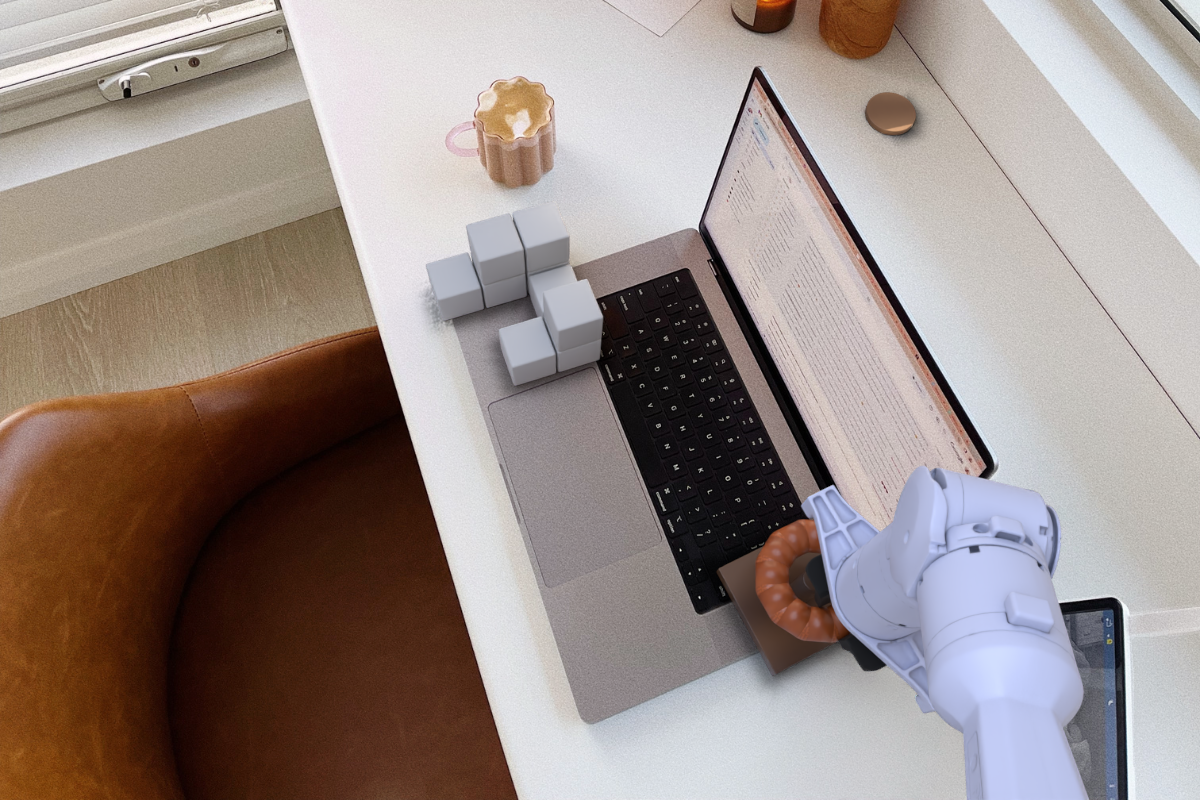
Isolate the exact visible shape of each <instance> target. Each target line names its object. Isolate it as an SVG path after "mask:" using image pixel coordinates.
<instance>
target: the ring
mask: <svg viewBox="0 0 1200 800" xmlns="http://www.w3.org/2000/svg"><path fill="white" fill-rule="evenodd" d="M762 547H763V548H762V550H761V551H760V553H759V555H758V556H757V559H756V564H755V588H756V593H757V596H758V598H759V599H760V601H761V603H762V605H763V607H764V608H765V610H766V612H767V614H768V615H769V617H770V619H771V620H772V621H773V622H774V623H775V624H776V625H778V626H779V627H781V628H782V629H784V630H786V631H787V632H789V633H790V634H792V635H793V636H795V637H796V638H798V639H800V640H803V641H816V642H836V643H838V642H837V641H838V640H840V639H842V638H844V637H846V636H848V635H849V634H851V632H850V631H849V630H848V629H847V628H846V627H845V626H844V625H843V624H842V623H841V621H840V620H839V619H838V617H837V615H836V613H835V611H834V609H833V606H832V604H831V605H829V606H827V607H820V608H819V607H813V606H809V605H808V604H806V603H805V602H803V601H801V600H800V599H798V598H797V597H796V595H795V593H794V591H793V590H792V588H791V586H790V585H789V569H790V567H791V566H792V564H793V562H794V561H795V559H796V558H798V557H800V556H802V555H804V554H806V553H821V549H820V544H819V539H818V534H817V529H816V525H815V521H814V519H797V520H794V521H793V522H791V523H788V524H787V525H785V526H783V527H781V528H779V529H777V530H774V531H773V532H772V533H771V534H770V535H769V537H768V538H767V540H766V541H765V543H764V545H763V546H762Z"/></svg>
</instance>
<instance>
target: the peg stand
mask: <svg viewBox="0 0 1200 800" xmlns="http://www.w3.org/2000/svg"><path fill="white" fill-rule="evenodd" d="M762 548H763V546H762V547H759V548H757V549H755V550H753V551H751V552H748V553H747V554H745V555H743V556H741V557H739V558H737V559H735V560H732V561H731V562H729V563H727V564H724V565H723V566H721V567H719V568H718V569H717V570H716V574H717V576H718V578H719V579H720V581H721V583H722V586H723V588H724V589H725V591H726V593H727V594H728V597H729V599H730V601H731V603H732V604H733V606H734V607H735V610H736V611H737V613H738V615H739V617H740V619H741V621H742V622H743V624H744V626H745V628H746V629H747V633H748V634H749V635H750V637H751V639H752V641H753V643H754V645H755V647H756V649H757V650H758V653H759V654H760V656H761V658H762V659H763V661H764V663H765V665H766V667H767V669H768V671H769V673H770V675H771V676H772V677H774V676H776V675H778V674H779V673H781V672H783V671H785V670H788V669H789V668H790V667H793V666H795V665H797V664H798V663H800V662H802V661H804V660H806V659H808V658H810V657H811V656H813V655H816V654H817V653H819V652H821V651H823V650H825V649H827V648H828V647H830V646H832V645H835V644H837V643H839V642H838V641H837V642H816V641H803V640H800V639H798V638H796V637H795V636H793V635H792V634H790V633H789V632H787V631H786V630H784V629H782V628H781V627H779V626H778V625H776V624H775V623H774V622H773V621H772V620H771V619H770V617H769V615H768V614H767V612H766V610H765V608H764V607H763V605H762V603H761V601H760V599H759V598H758V596H757V593H756V588H755V564H756V559H757V556H758V555H759V553H760V551H761V550H762ZM820 554H821V553H806V554H804V555H802V556H800V557H798V558H796V559H795V561H794V562H793V564H792V566H791V567H790V569H789V585H790V586H791V588H792V590H793V591H794V593H795V595H796V597H797V598H798V599H800V600H801V601H803V602H805V603H806V604H808V605H809V606H813V607H818V605H817V603H816V602H815V588H814V586H813V585H812V583H811V581H810V579H809V578H808V576H807V573H806V571H805V568H806V566H807V564H808V563H809V561H810V560H811V559H812V558H814V557H816V556H818V555H820ZM831 604H832V603H831V602H830V603H828V604H826V605H824V606H822V607H827V606H829V605H831Z"/></svg>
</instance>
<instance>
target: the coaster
mask: <svg viewBox="0 0 1200 800" xmlns="http://www.w3.org/2000/svg"><path fill="white" fill-rule="evenodd" d="M916 112H917V111H916V109H915V106H914V104H912V102H911V101H910V100H909V99H908V98H907V97H906V96H904V95H901V94H899V93H896V92H892V91H891V92H890V91H886V92H885V91H884V92H879V93H877V94H875V95H873V96H871V98H869V100H868V102H867V104H866V106H865V109H864V116H865V119H866V122H867V124H869V126H870V127H871V128H873V129H874V130H875V131H877V132H878V133H880V134H884V135H887V136H899V135H903V134H904V133H907V132H908V131H909V130H910V129H911V128H912V127H913V125H914V124H915V122H916V117H917V113H916Z"/></svg>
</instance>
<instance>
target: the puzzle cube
mask: <svg viewBox="0 0 1200 800" xmlns="http://www.w3.org/2000/svg"><path fill="white" fill-rule="evenodd" d="M465 230H466V235H467V241H468V246H469V251H470V253H469V252H463V253H459V254H456V255H452V256H449V257H446V258H445V257H444V258H441V259H438V260H434V261H432V262H428V263H426V264H425V268H426V272H427V276H428V280H429V283H430V287H431V290H432V293H433V297H434V299H435V302H436V305H437V308H438V311H439V315H440V317H441V320H442V321H448V320H453V319H455V318H458V317H462V316H466V315H468V314H473V313H475V312H479V311H482V310H484V309H485V308H488V309H489V308H493V307H495V306H499V305H502V304H505V303H510V302H513V301H515V300H516V301H517V300H519V299H523V298H526V297H527V296H528V295H529V296H530V297H529V298H530V301H531V304H532V307H533V309H534V311H535V314H536V316H537V317H534V318H530V319H528V320H523V321H520V322H518V323H514V324H511V325H507V326H504V327H501V328H499V329H498V337H499V343H500V351H501V353H502V356H503V358H504V361H505V364H506V367H507V371H508V373H509V376H510V378H511V381H512V384H513V386H516V387H517V386H520V385H523V384H526V383H529V382H533V381H537V380H539V379H543V378H546V377H548V376H551V375H555V374H557V372H560V373H561V372H564V371H568V370H571V369H574V368H577V367H580V366H583V365H587V364H591V363H593V362H597V361H600V358H601V348H602V336H603V335H602V334H603V325H604V324H603V323H604V315H603V313H602V310H601V308H600V305H599V304H598V303H599V302H598V300H597V298H596V295H595V294H594V291H593V288H592V286H591V283H590V281H589V279H587V278H584V279H581V280H580V279H579V280H578V279H577V276H576V274H575V271H574V269H573V266H572V264H570V263H571V262H570V259H571V258H570V257H571V235H570V232H569V230H568V227H567V225H566V223H565V220H564V218H563V215H562V213H561V210H560V208H559V205H558V203H557V201H556V200H549V201H547V202H543V203H540V204H536V205H532V206H528V207H526V208H521V209H517V210H515V211H512V214H511V213H508V212H507V213H504V214H500V215H496V216H493V217H490V218H486V219H482V220H480V221H475V222H471V223H467V224H466V226H465Z"/></svg>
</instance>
